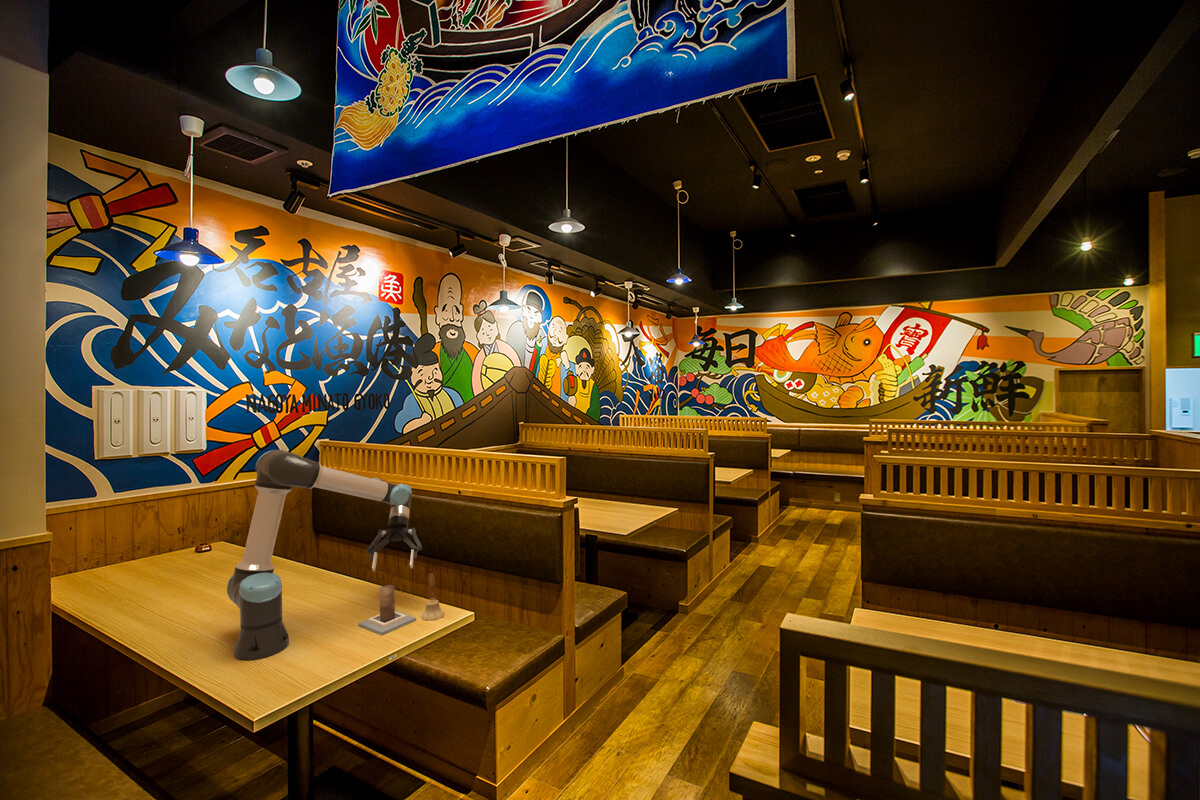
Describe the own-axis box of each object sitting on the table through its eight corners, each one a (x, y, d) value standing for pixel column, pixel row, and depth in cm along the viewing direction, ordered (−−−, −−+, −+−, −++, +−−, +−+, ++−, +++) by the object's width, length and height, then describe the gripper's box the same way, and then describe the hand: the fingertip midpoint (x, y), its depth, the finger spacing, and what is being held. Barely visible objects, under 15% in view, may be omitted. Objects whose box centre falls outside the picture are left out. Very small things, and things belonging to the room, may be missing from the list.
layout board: (381, 635, 183) (381, 629, 182) (358, 625, 190) (358, 619, 190) (416, 620, 194) (415, 614, 194) (392, 611, 202) (392, 606, 202)
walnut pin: (386, 624, 189) (385, 591, 189) (377, 621, 191) (376, 588, 191) (398, 619, 193) (397, 586, 193) (389, 616, 196) (388, 584, 195)
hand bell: (431, 622, 192) (430, 579, 192) (416, 617, 197) (415, 575, 196) (449, 614, 199) (448, 572, 199) (434, 609, 204) (433, 568, 203)
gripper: (431, 522, 221) (427, 570, 206) (368, 526, 216) (359, 575, 201) (429, 512, 215) (425, 561, 201) (364, 516, 211) (355, 565, 196)
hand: (392, 568), depth 201 cm, fingers open, 13 cm apart
